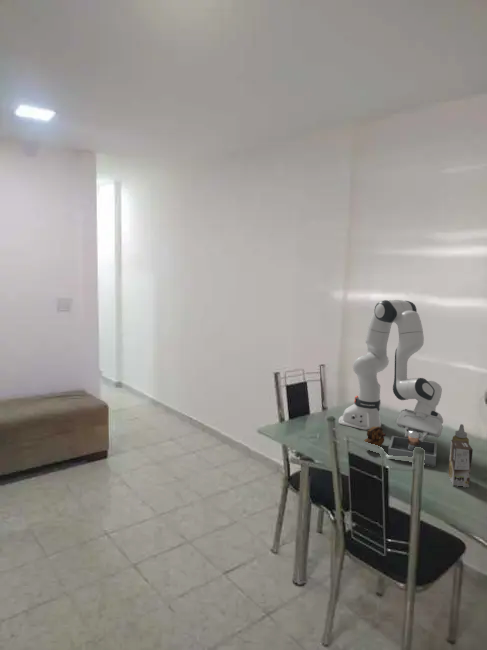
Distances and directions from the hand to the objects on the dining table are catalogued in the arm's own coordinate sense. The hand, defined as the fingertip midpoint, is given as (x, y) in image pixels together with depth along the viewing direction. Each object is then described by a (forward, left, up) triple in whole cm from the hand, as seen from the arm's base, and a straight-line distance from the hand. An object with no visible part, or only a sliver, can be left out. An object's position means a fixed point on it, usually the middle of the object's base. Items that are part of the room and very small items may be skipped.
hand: (413, 439), depth 214 cm
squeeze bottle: (+20, +1, -8) cm, 21 cm away
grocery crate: (0, +1, -8) cm, 8 cm away
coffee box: (+19, -17, -9) cm, 27 cm away
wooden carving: (-17, +3, -9) cm, 19 cm away
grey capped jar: (0, +1, -4) cm, 4 cm away
